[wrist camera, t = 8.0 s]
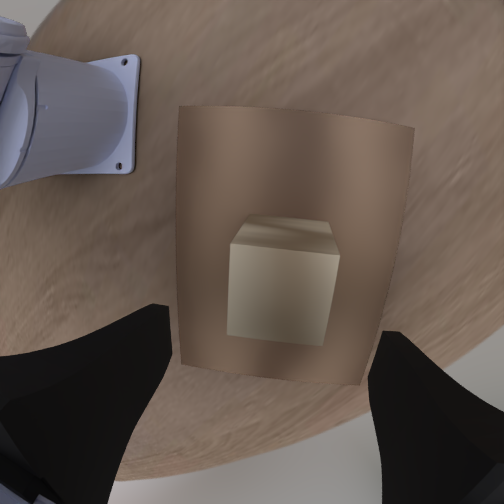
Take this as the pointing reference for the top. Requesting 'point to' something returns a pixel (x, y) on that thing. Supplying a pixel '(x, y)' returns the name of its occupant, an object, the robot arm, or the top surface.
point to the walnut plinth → (293, 206)
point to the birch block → (281, 279)
